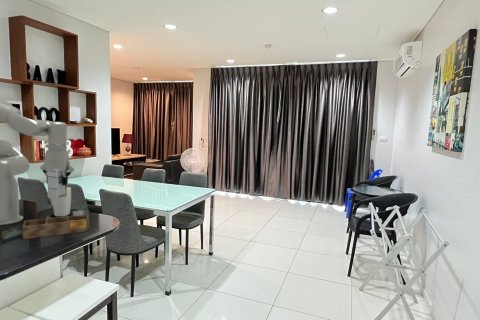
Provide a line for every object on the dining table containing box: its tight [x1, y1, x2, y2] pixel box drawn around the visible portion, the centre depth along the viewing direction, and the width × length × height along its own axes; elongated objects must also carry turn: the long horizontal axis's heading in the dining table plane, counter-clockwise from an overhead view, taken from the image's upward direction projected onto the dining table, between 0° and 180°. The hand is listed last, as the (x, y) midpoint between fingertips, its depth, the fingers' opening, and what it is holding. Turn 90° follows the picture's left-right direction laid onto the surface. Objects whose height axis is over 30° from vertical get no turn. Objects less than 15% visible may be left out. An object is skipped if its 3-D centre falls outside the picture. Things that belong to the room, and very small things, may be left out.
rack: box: [22, 214, 90, 240], centre depth 137 cm, size 25×9×6 cm, turn 121°
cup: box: [52, 186, 72, 218], centre depth 159 cm, size 7×7×15 cm
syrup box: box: [47, 169, 67, 199], centre depth 145 cm, size 6×6×14 cm
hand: (57, 183), depth 145 cm, fingers closed on syrup box, 6 cm apart
